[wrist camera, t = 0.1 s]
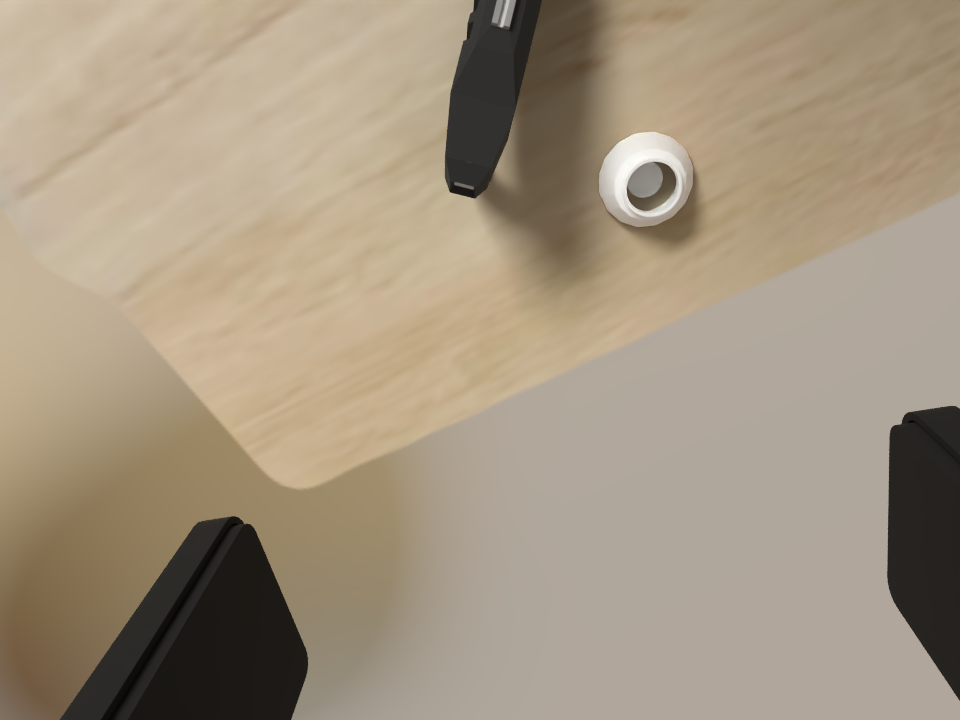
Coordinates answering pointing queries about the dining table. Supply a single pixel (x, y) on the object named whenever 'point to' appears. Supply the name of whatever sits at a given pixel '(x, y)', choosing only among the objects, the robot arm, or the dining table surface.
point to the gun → (486, 90)
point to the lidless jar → (644, 177)
